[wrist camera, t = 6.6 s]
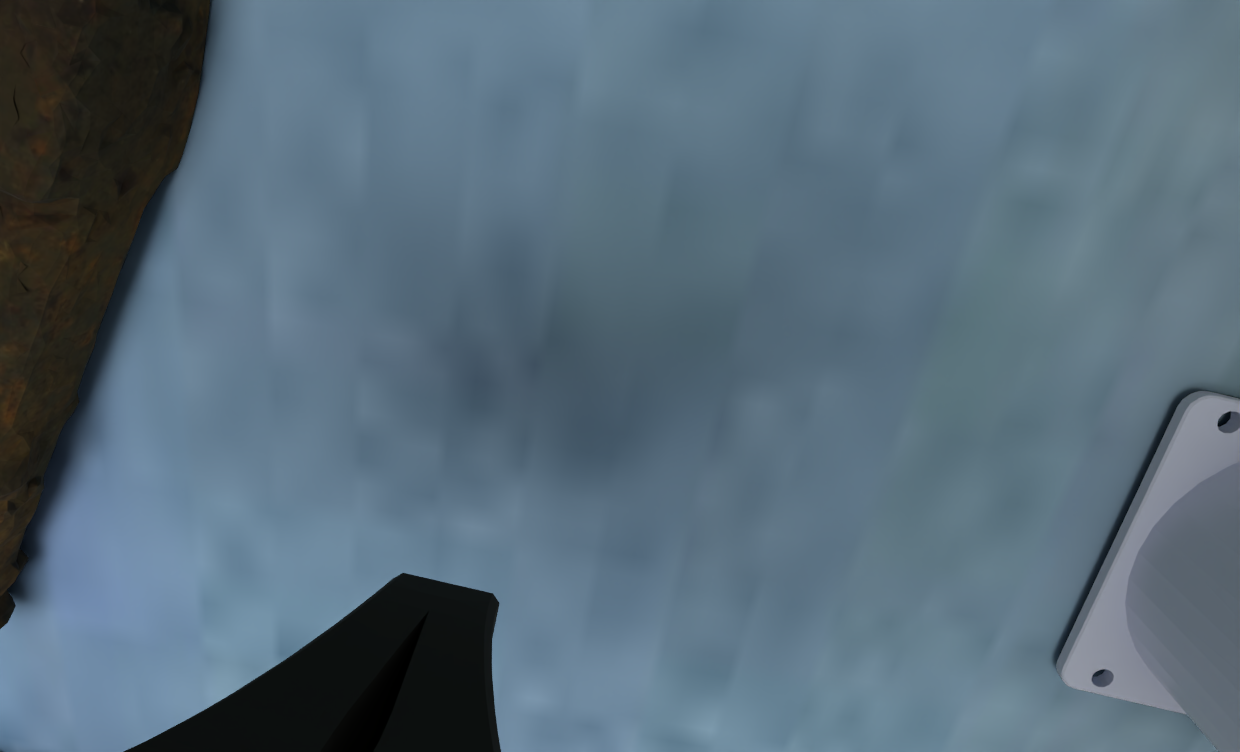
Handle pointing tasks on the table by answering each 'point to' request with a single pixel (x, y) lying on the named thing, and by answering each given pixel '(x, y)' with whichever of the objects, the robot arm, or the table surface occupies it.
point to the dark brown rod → (75, 203)
